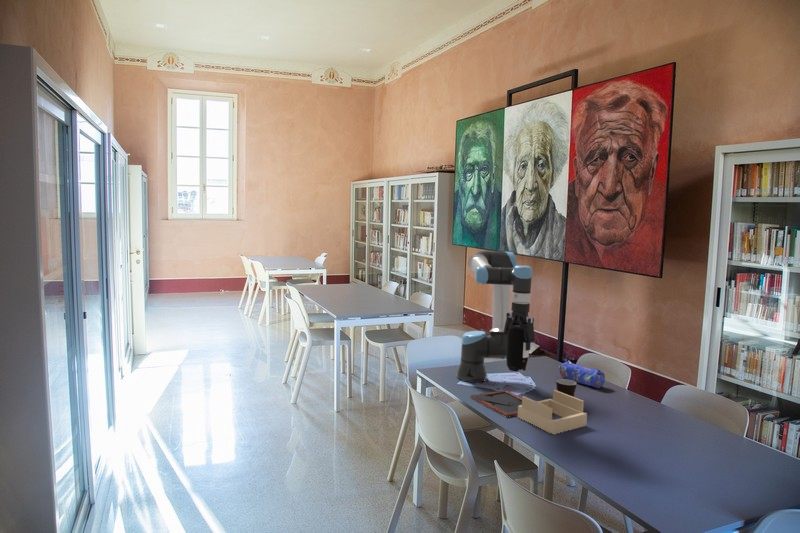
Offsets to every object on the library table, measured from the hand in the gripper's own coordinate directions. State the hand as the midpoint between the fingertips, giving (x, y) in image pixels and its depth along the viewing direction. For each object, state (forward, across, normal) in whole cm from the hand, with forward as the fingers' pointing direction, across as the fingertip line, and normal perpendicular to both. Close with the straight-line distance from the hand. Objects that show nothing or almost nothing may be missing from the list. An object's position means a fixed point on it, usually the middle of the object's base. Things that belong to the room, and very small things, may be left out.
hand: (517, 354), depth 231 cm
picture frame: (+24, -4, -1) cm, 24 cm away
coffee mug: (+23, +7, +25) cm, 35 cm away
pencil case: (+24, -10, +56) cm, 61 cm away
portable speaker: (+7, 0, 0) cm, 7 cm away
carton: (+23, +19, +2) cm, 30 cm away
